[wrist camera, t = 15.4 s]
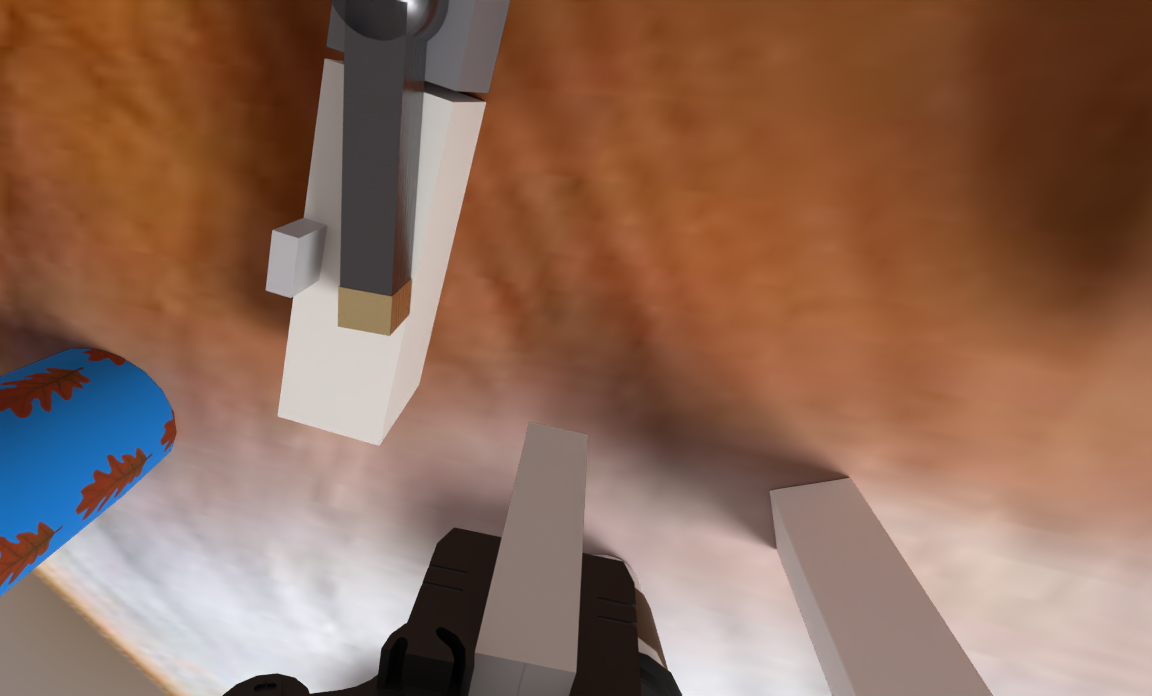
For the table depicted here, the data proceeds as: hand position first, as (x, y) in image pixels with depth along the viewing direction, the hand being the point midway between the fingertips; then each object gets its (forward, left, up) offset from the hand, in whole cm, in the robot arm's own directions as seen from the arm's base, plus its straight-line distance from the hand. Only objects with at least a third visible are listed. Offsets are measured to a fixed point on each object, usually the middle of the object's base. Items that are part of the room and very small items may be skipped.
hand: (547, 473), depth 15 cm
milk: (-23, +14, -25) cm, 37 cm away
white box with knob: (+11, 0, -24) cm, 27 cm away
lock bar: (+10, -4, -16) cm, 19 cm away
